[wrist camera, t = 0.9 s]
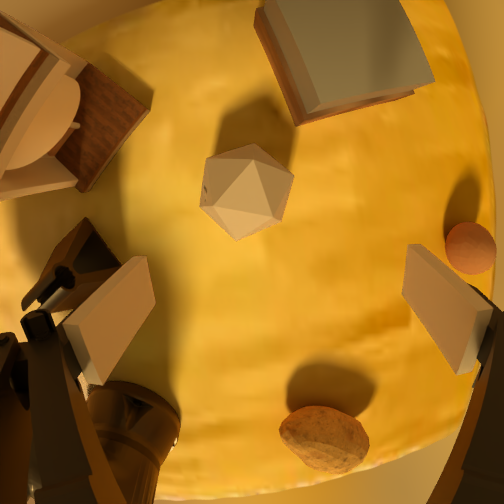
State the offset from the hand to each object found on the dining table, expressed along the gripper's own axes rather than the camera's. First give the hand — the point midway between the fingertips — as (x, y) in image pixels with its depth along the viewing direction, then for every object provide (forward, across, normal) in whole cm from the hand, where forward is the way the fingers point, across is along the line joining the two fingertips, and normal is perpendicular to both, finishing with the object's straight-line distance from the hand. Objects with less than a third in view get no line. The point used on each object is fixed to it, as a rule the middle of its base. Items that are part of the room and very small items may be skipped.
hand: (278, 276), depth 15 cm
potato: (+18, -6, +32) cm, 37 cm away
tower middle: (+17, -8, -16) cm, 25 cm away
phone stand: (+17, +22, +5) cm, 28 cm away
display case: (+18, +21, -11) cm, 30 cm away
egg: (+22, -24, +6) cm, 33 cm away
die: (+20, +3, -2) cm, 20 cm away
